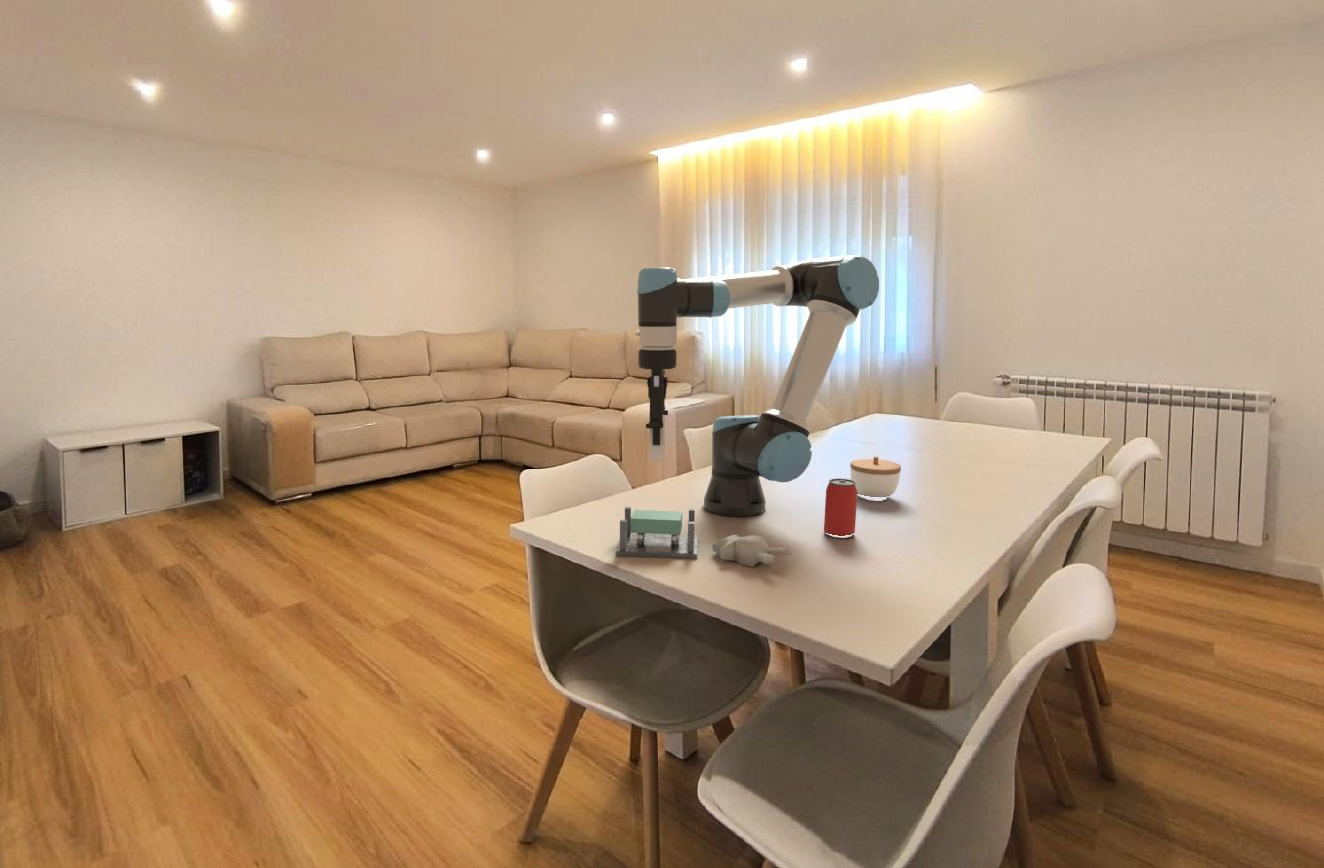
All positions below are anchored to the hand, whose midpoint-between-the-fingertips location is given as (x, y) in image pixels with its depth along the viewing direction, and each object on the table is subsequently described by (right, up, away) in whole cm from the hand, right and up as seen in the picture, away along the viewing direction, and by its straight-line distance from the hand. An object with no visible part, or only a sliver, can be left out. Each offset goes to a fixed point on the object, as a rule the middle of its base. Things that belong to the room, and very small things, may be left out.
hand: (657, 453), depth 138 cm
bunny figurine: (+18, -21, -6) cm, 28 cm away
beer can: (+40, -18, +11) cm, 45 cm away
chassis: (0, -19, +1) cm, 19 cm away
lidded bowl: (+56, -13, +41) cm, 71 cm away
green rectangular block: (0, -15, 0) cm, 15 cm away
